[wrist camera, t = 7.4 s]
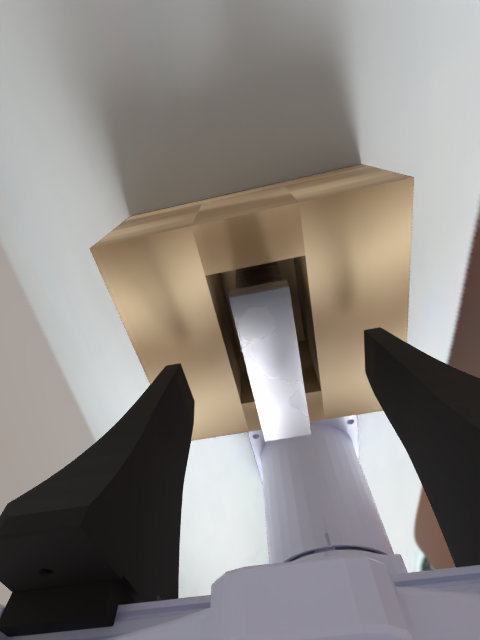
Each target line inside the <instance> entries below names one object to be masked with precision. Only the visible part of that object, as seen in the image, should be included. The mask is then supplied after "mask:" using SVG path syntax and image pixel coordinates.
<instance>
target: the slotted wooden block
mask: <svg viewBox="0 0 480 640" xmlns="http://www.w3.org/2000/svg"><path fill="white" fill-rule="evenodd" d="M413 187H414V177H411V176H407V175H403V174H399V173H395V172H391V171H387V170H383V169H379V168H375V167H371V166H367V165H363V164H360V165H356V166H351V167H347V168H342V169H338V170H334V171H329V172H325V173H320V174H316V175H312V176H307V177H303V178H298V179H294V180H289V181H285V182H281V183H276V184H272V185H267V186H263V187H259V188H254V189H250V190H245V191H241V192H236V193H232V194H228V195H223V196H219V197H214V198H210V199H206V200H201V201H197V202H192V203H188V204H183V205H179V206H175V207H170V208H166V209H161V210H157V211H153V212H148V213H144V214H139V215H135V216H131V217H129V218H128V219H126V220H125V221H124V222H123V223H121V224H120V225H119V226H117V227H116V228H115V229H114V230H112V231H111V232H110V233H109V234H107V235H106V236H105V237H104V238H102V239H101V240H100V241H99V242H97V243H96V244H95V245H93V246H92V247H91V248H90V250H91V253H92V255H93V257H94V259H95V262H96V264H97V266H98V268H99V271H100V273H101V275H102V277H103V280H104V282H105V284H106V286H107V289H108V291H109V293H110V295H111V298H112V300H113V302H114V304H115V307H116V309H117V311H118V313H119V315H120V318H121V320H122V322H123V324H124V327H125V329H126V331H127V333H128V336H129V338H130V340H131V342H132V345H133V347H134V349H135V351H136V354H137V356H138V358H139V360H140V363H141V365H142V367H143V369H144V372H145V374H146V376H147V378H148V381H149V383H150V385H151V383H152V382H153V381H154V380H155V378H156V377H157V376H158V375H159V373H160V372H161V371H162V370H163V369H164V367H165V366H167V365H173V364H179V363H181V366H182V368H183V371H184V374H185V376H186V379H187V382H188V384H189V387H190V390H191V393H192V395H193V398H194V401H195V408H194V426H193V432H192V438H191V441H193V440H199V439H206V438H212V437H218V436H225V435H231V434H237V433H244V432H250V431H256V430H262V427H261V423H260V419H259V415H258V411H257V408H256V404H255V400H254V396H253V392H252V388H251V384H250V380H249V376H248V372H247V368H246V364H245V360H244V356H243V352H242V348H241V344H240V340H239V336H238V332H237V328H236V325H235V321H234V317H233V313H232V309H231V305H230V301H229V291H230V290H235V285H236V269H241V268H246V267H251V266H256V265H261V264H266V263H270V262H275V261H277V264H278V267H279V270H280V273H281V276H282V280H286V279H287V282H288V285H289V289H290V296H291V302H292V309H293V316H294V322H295V329H296V336H297V342H298V349H299V356H300V362H301V369H302V375H303V382H304V389H305V395H306V402H307V409H308V415H309V422H314V421H320V420H326V419H333V418H339V417H345V416H352V415H358V414H364V413H371V412H377V411H383V409H382V407H381V405H380V404H379V402H378V400H377V398H376V397H375V395H374V393H373V390H372V388H371V386H370V383H369V381H368V378H367V376H366V373H365V352H364V330H367V329H373V328H378V327H381V328H383V329H384V330H386V331H388V332H389V333H391V334H393V335H394V336H396V337H398V338H399V339H401V340H403V341H404V342H406V343H407V327H408V304H409V281H410V257H411V234H412V211H413Z"/></svg>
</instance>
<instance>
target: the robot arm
mask: <svg viewBox="0 0 480 640" xmlns="http://www.w3.org/2000/svg"><path fill="white" fill-rule="evenodd" d="M364 352H365V373H366V376H367V378H368V381H369V383H370V386H371V388H372V390H373V393H374V395H375V397H376V398H377V400H378V402H379V404H380V405H381V407H382V409H383V411H384V412H385V414H386V416H387V418H388V419H389V421H390V423H391V424H392V426H393V428H394V429H395V431H396V433H397V435H398V436H399V438H400V440H401V441H402V443H403V445H404V447H405V449H406V451H407V453H408V454H409V457H410V459H411V461H412V463H413V465H414V468H415V470H416V472H417V474H418V476H419V479H420V481H421V483H422V485H423V488H424V490H425V492H426V495H427V497H428V499H429V501H430V504H431V506H432V509H433V511H434V513H435V516H436V518H437V521H438V523H439V526H440V528H441V531H442V533H443V536H444V538H445V540H446V543H447V546H448V548H449V551H450V553H451V556H452V558H453V561H454V563H455V566H456V568H448V569H440V570H430V571H421V572H412V573H408V572H407V570H406V567H405V564H404V562H403V559H402V557H401V555H400V554H394V553H393V550H392V547H391V545H390V542H389V539H388V537H387V534H386V531H385V529H384V526H383V523H382V521H381V518H380V515H379V513H378V510H377V507H376V505H375V502H374V499H373V497H372V494H371V491H370V489H369V486H368V483H367V481H366V478H365V475H364V473H363V470H362V467H361V465H360V461H359V442H358V423H357V415H352V416H345V417H339V418H333V419H326V420H320V421H314V422H310V428H311V435H305V436H298V437H292V438H285V439H278V440H272V441H265V439H264V435H263V431H262V430H256V431H250V432H248V434H249V438H250V441H251V445H252V448H253V452H254V455H255V459H256V462H257V466H258V469H259V473H260V476H261V480H262V483H263V489H264V502H265V515H266V528H267V541H268V554H269V564H265V565H257V566H248V567H243V568H239V569H235V570H232V571H228V572H226V573H225V574H223V575H222V576H221V577H220V578H218V579H217V580H216V581H215V582H214V583H213V584H212V588H211V595H206V596H197V597H188V598H179V599H178V575H179V543H180V524H181V508H182V494H183V484H184V477H185V471H186V466H187V460H188V454H189V449H190V443H191V438H192V432H193V426H194V408H195V401H194V398H193V395H192V393H191V390H190V387H189V384H188V382H187V379H186V376H185V374H184V371H183V368H182V366H181V363H179V364H173V365H167V366H165V367H164V369H163V370H162V371H161V372H160V373H159V375H158V376H157V377H156V378H155V380H154V381H153V382H152V383H151V385H150V386H149V387H148V388H147V390H146V391H145V392H144V393H143V394H142V396H141V397H140V398H139V399H138V400H137V402H136V403H135V404H134V405H133V406H132V407H131V408H130V409H129V410H128V411H127V413H126V414H125V415H124V416H123V417H122V418H121V419H120V420H119V421H118V422H117V423H116V424H115V425H114V426H113V427H112V428H111V429H110V430H109V431H108V432H107V433H106V434H105V435H104V436H103V437H101V438H100V439H99V440H98V441H97V442H96V443H95V444H93V445H92V446H91V447H90V448H88V449H87V450H86V451H85V452H84V453H82V454H81V455H80V456H79V457H77V458H76V459H75V460H74V461H72V462H71V463H70V464H68V465H67V466H65V467H64V468H63V469H61V470H60V471H58V472H57V473H56V474H54V475H53V476H51V477H50V478H48V479H47V480H45V481H44V482H42V483H41V484H39V485H38V486H36V487H34V488H33V489H31V490H29V491H28V492H26V493H25V494H23V495H21V496H20V497H18V498H17V499H15V500H13V501H11V502H10V503H8V504H7V506H6V507H5V509H4V511H3V512H2V514H1V516H0V582H1V583H3V584H4V585H5V586H6V587H7V588H8V589H10V590H11V591H12V592H13V593H12V595H11V597H10V599H9V601H8V603H7V605H6V606H4V605H0V640H480V378H477V377H475V376H472V375H470V374H467V373H465V372H462V371H460V370H457V369H456V368H453V367H451V366H449V365H447V364H445V363H443V362H441V361H439V360H437V359H435V358H433V357H431V356H429V355H427V354H425V353H424V352H422V351H420V350H418V349H416V348H415V347H413V346H411V345H410V344H408V343H406V342H404V341H403V340H401V339H399V338H398V337H396V336H394V335H393V334H391V333H389V332H388V331H386V330H384V329H383V328H381V327H378V328H373V329H367V330H364ZM350 419H351V420H350ZM254 434H257V435H254Z"/></svg>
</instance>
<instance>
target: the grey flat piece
mask: <svg viewBox="0 0 480 640" xmlns="http://www.w3.org/2000/svg"><path fill="white" fill-rule="evenodd" d="M229 301H230V305H231V309H232V313H233V317H234V321H235V325H236V328H237V332H238V336H239V340H240V344H241V348H242V352H243V356H244V360H245V364H246V368H247V372H248V376H249V380H250V384H251V388H252V392H253V396H254V400H255V404H256V408H257V411H258V415H259V419H260V423H261V427H262V431H263V435H264V439H265V441H272V440H278V439H285V438H292V437H298V436H305V435H311V428H310V422H309V415H308V409H307V402H306V395H305V389H304V382H303V375H302V369H301V362H300V356H299V349H298V342H297V336H296V329H295V322H294V316H293V309H292V302H291V296H290V289H289V285H288V282H287V279H286V280H282V276H281V273H280V270H279V267H278V264H277V261H275V262H270V263H266V264H261V265H256V266H251V267H246V268H241V269H236V285H235V290H230V291H229Z"/></svg>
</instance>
